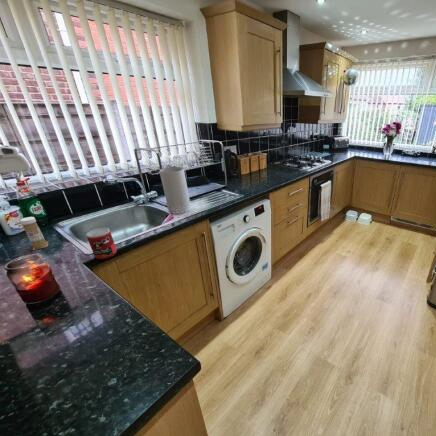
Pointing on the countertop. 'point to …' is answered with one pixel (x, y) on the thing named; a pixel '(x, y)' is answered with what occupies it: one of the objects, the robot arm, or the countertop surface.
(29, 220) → the sprinkles bottle
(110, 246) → the canned food
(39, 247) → the cork coaster
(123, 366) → the countertop surface
